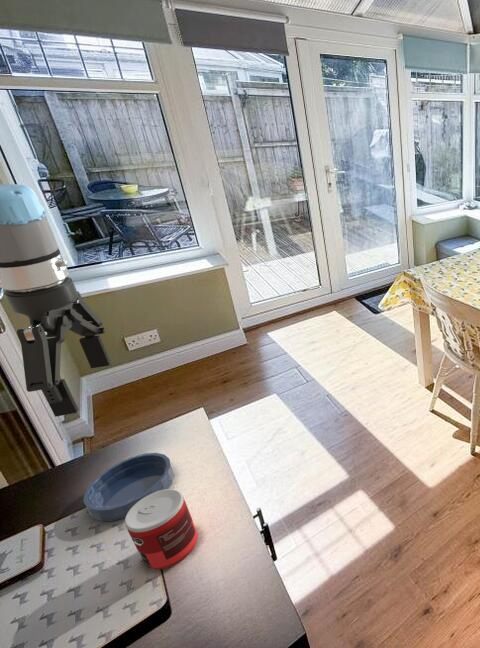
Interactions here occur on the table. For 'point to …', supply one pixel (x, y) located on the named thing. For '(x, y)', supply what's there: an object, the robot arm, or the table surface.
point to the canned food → (162, 528)
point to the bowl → (127, 485)
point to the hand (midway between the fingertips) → (85, 387)
